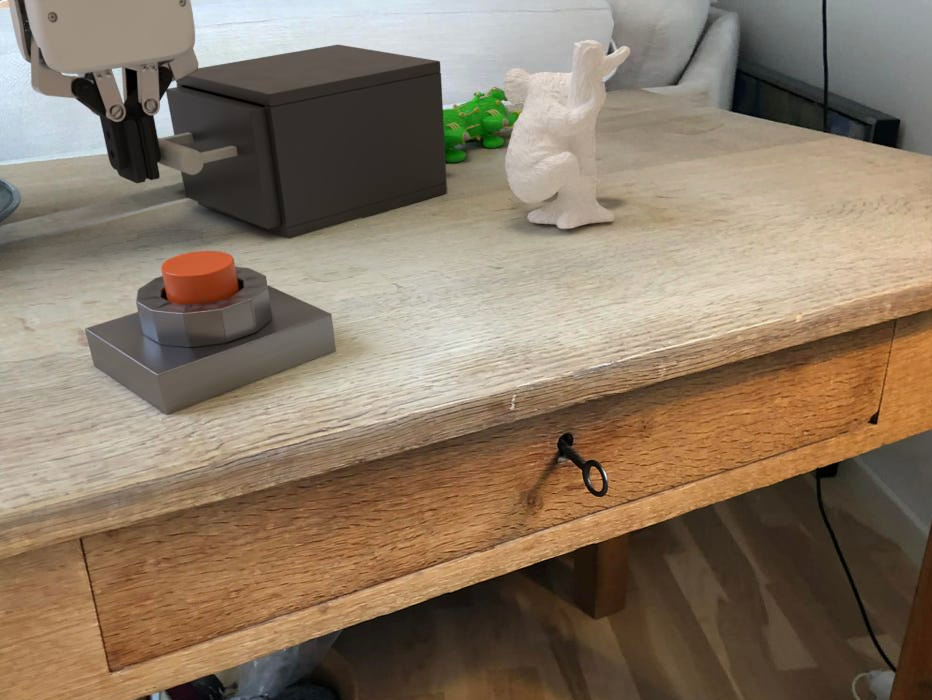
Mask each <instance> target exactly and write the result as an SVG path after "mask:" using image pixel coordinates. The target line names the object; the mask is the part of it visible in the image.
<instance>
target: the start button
mask: <svg viewBox="0 0 932 700" xmlns="http://www.w3.org/2000/svg"><path fill="white" fill-rule="evenodd" d="M235 267H236V263H235V258H234V257H233V255H231V254H230V253H228V252H223V251H220V250H219V251H216V250H200V251H199V250H198V251H190V252H186V253H182V254H181V253H180V254H178V255H175V256H172V257H170V258H168V259H166V260H165V261H164V262H163V263H162V264H161V267H160V270H161V276H163V280H164V285H165V290H166V295H167V299H168V301H169V302H171V303H182V304H198V303H207V302H215V301H218V300H222V299H225V298H228V297H231V296H233V295H235V294H236V293H237V292H239V286H238V280H237V274H236V268H235Z"/></svg>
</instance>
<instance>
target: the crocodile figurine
mask: <svg viewBox="0 0 932 700" xmlns="http://www.w3.org/2000/svg"><path fill="white" fill-rule="evenodd" d="M472 95H473V96H474V97H473V98H472V99H471V100H470V101H469V100H468V101H467V102H464V103H461V104H459V105H457V104H456V103H454V104H453V105H452V108H446V109H443V122H444V142H445V161H446V163H459V162H462V161H464V160H465V159H466V156H467V152H465V151H463V150H460V149H458V148H456V147H457V146H458V145H461V146H463V147H464V146H466V142H467V141H474V140H477V141H480V140H481V138H482V139H483V141H482V146H483V147H484V148H488V149H495V148H499V147H501V146H503V144H504V142H505V140H504V138H503V137H501V136H499V135H498V136H497V135H496V134H494V133H496V132H497V133H502V130H503V129H505V130H509V129H513V127H514V123H515V122H516V121H517V119H518V117H519V115H520V113H522V112H523V110H518V109H517V110H512V112H510V114H508V112H509V109H507V108H506V106H505V104H504V103H503V101H504V102H509V101H508V100H507V98H506V97H505V93H504V89H502V88H499V87H497V86H493V87H491V88H490V89H488V92H486V93H484V92H481V91H476V92H474V93H473V94H472Z"/></svg>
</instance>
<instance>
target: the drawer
mask: <svg viewBox="0 0 932 700" xmlns="http://www.w3.org/2000/svg"><path fill="white" fill-rule="evenodd" d="M202 91H203V92H200V91H196V90H192V89H188V88H184V87H177V86H176V87H170V88H169V87H168V89H167V90H166V92H165V94H166V99H167V103H168V104H167V105H168V110H169V116H170V121H171V125H172V126H171V127H172V131H173V135H169V136H163V137H158V142H159V148H160V153H161V160H160V162H157V164H158V165H162V166H165V167H168V168H170V169H173V170H176V171H179V172H180V173H181V179H182V184H183V190H184V195H185V198H187V199H190V200H192V201H195V202H197V203H198V202H200V203H202V204H205V205H207V206H210V207H213V208H215V209H218V210H220V211H223V212H226V213H228V214H231V215H233V216H236V217H238V218H241V219H244V220H246V221H249V222H251V223H254V224H256V225H259V226H262V227H264V228H267V229H269V228H272V227H276V226H279V225H282V223H281V216H280V209H279V201H278V194H277V187H276V180H275V173H274V166H273V158H272V151H271V144H270V137H269V130H268V123H267V116H266V109H265V107H264V106H266V105H262V104H258V103H254V102H250V101H246V100H242V99H237V98H233V97H229V96H225V95H221V94H217V93H213V92H209V91H205V90H202Z"/></svg>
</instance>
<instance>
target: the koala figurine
mask: <svg viewBox="0 0 932 700" xmlns="http://www.w3.org/2000/svg"><path fill="white" fill-rule="evenodd" d="M604 47H605V46H604V45H603V44H601V43H600V42H599V41H597V40H595V39H584V40H581V41H578V42H574V43H573V48H572V49H573V50H572V63H571V70H570V71H569V72H560V71H557V72H551V71H540V72H534V73H532V74H530V73H529V72H527V71H526V70H525V69H523V68H515V67H514V68H511V69H509V70H508V71H507V72H506V74H504V78H503V91H504V93H505V97H506V98H507V100H508V101H507V102H509V103H511V104H513V105H518V104H521V103H523V102H524V103H523V107H522V111H523V112H522V113H520V115H519V117H518V119H517V121H516V122H515V123H514V124H513V125H514V127H513V126H512V127H513V128H512V131H511V134H510V139H509V142H508V145H507V150H506V155H505V158H504V161H505V162H504V171H505V174H506V179H507V183H508V185H509V188H510V190H511V192H512V193H513V194H514V196H515V197H516V199H518V200H519V201H521V202H523V203H527V204H539V203H541V202H544V201H546V200H548V199H550V198H552V197H553V196H554V195H556V193H557V197H556V198H555V199H554V200H552V201H551V202H549V203H548V204H545V205H543V206H541V207H540V208H536V209H534V210H533V211H529V213H528V214H527V215H526V216H527V220H528V221H529V222H530V223H531V224H538V225H539V224H543V225H556V227H557V228H559V229H561V230H562V229H563V230H568V229H575V228H578V227H580V226H585V225H588V224H597V223H608V222H609V223H611V222H613V221H614V220H615V216H614V214H613V213H612V212H611V211H610V210H609V209H607V208H605V207H603V206H602V205H600V203H599V201H598V200H597V196H596V194H597V186H598V184H599V182H598V179H597V178H598V172H597V170H598V169H597V163H596V151H597V143H596V132H595V131H596V125H597V118H598V116H599V112H601V110H602V107H603V106H604V104H605V102H606V98H607V91H606V83H605V82H604V81H603V78H604V77H606V76H607V75H609V74H611V73H612V72H614V70H615V69H617V68H618V67H619V66H621V65H622V64H623V63H624V62H625V61H626V60H627V58H628V57H629V56H630V54H631V48H630V47H628V46H627V45H622V46H620V47H619V48H618V49H616V50H615V51H613V52H612V53H610V54H607V55H605V53H606V49H605V48H604Z"/></svg>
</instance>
